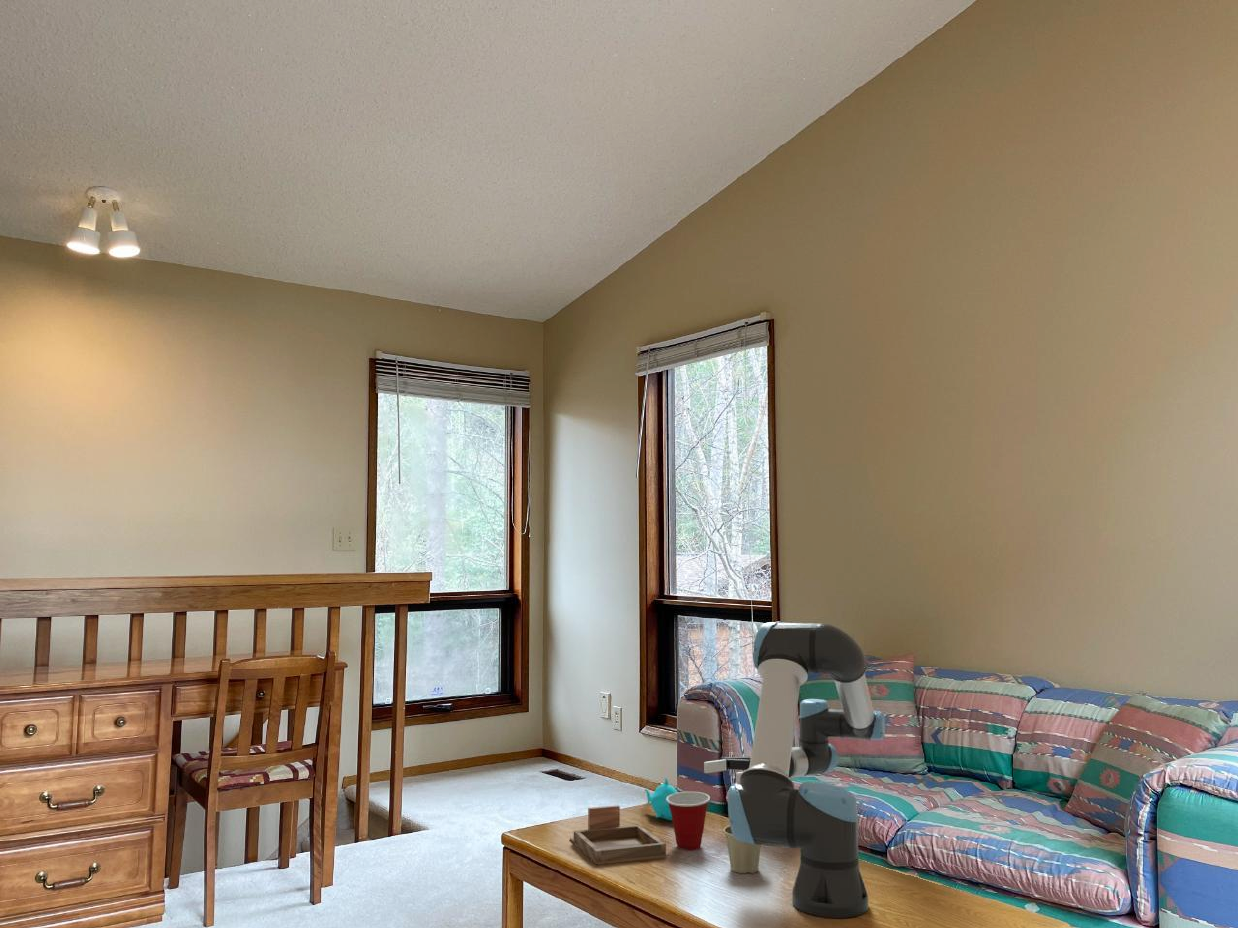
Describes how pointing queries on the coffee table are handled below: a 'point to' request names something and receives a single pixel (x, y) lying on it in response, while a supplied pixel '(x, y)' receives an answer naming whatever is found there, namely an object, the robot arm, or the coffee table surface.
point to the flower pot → (742, 854)
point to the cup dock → (616, 838)
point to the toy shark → (661, 800)
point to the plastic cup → (688, 817)
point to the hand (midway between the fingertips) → (720, 772)
